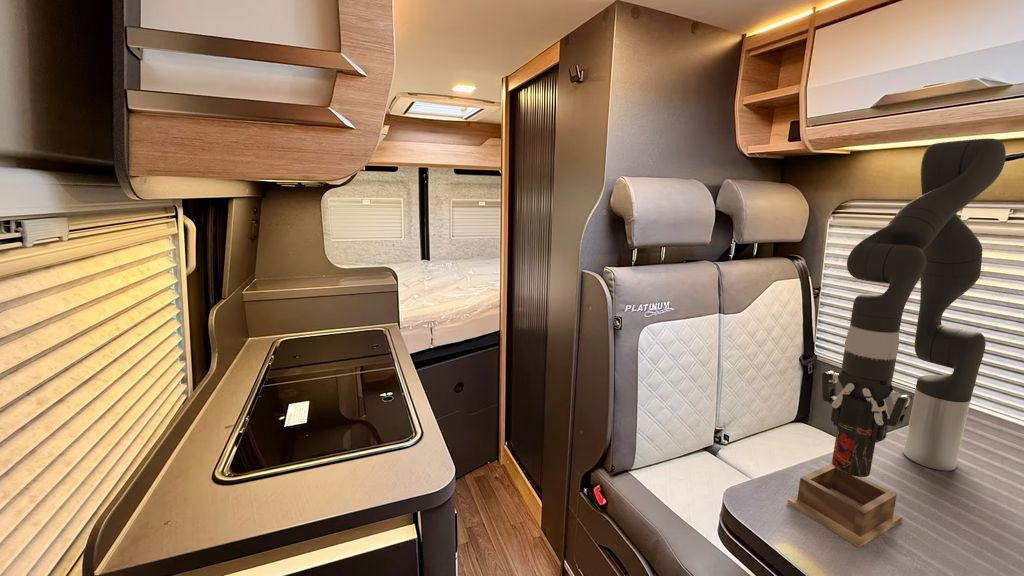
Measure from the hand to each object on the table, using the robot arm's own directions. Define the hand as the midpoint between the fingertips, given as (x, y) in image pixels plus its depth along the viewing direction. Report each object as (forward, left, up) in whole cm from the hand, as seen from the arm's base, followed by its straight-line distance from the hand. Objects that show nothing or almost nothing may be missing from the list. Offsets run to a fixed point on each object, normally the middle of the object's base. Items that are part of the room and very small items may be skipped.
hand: (856, 432), depth 83 cm
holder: (0, 0, -18) cm, 18 cm away
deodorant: (0, 0, -8) cm, 8 cm away
